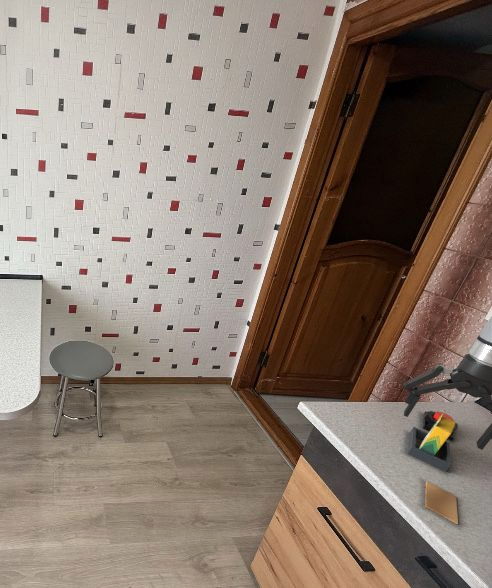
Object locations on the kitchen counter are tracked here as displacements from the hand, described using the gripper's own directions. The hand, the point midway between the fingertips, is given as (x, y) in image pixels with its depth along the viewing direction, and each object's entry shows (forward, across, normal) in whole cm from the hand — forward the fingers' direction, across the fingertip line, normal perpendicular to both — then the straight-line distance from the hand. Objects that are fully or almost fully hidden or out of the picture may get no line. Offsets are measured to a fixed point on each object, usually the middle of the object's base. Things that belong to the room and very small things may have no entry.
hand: (440, 429), depth 85 cm
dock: (+8, 0, 0) cm, 8 cm away
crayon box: (+8, 0, 0) cm, 8 cm away
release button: (+5, +2, +16) cm, 17 cm away
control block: (+8, +2, +16) cm, 18 cm away
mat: (+8, +3, -18) cm, 20 cm away
